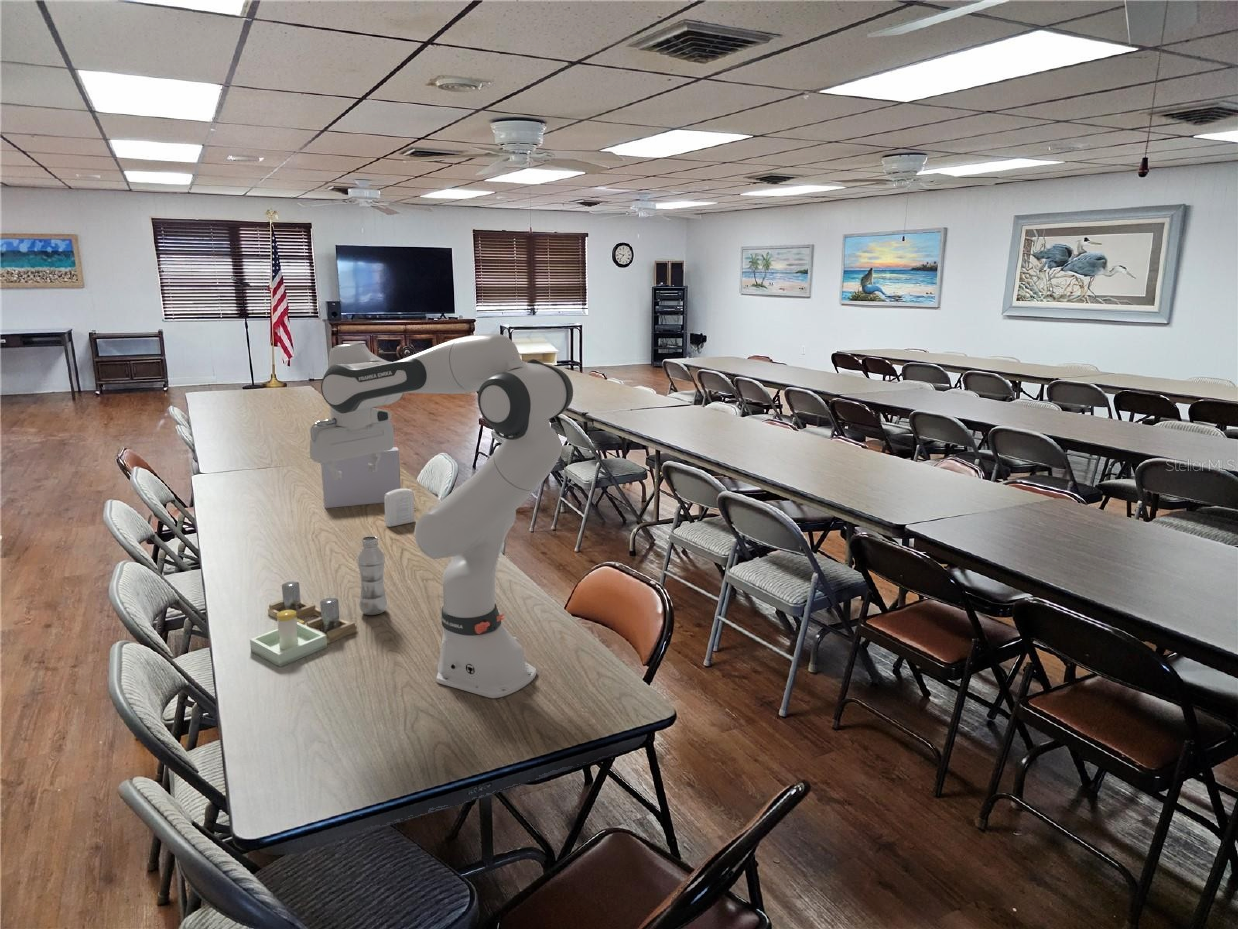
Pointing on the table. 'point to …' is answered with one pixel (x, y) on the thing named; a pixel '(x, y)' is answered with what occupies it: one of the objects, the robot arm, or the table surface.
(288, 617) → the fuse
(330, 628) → the canister
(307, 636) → the tray
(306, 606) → the rack
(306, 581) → the table surface
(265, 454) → the table surface
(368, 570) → the plastic bottle
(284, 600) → the canister
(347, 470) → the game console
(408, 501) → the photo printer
